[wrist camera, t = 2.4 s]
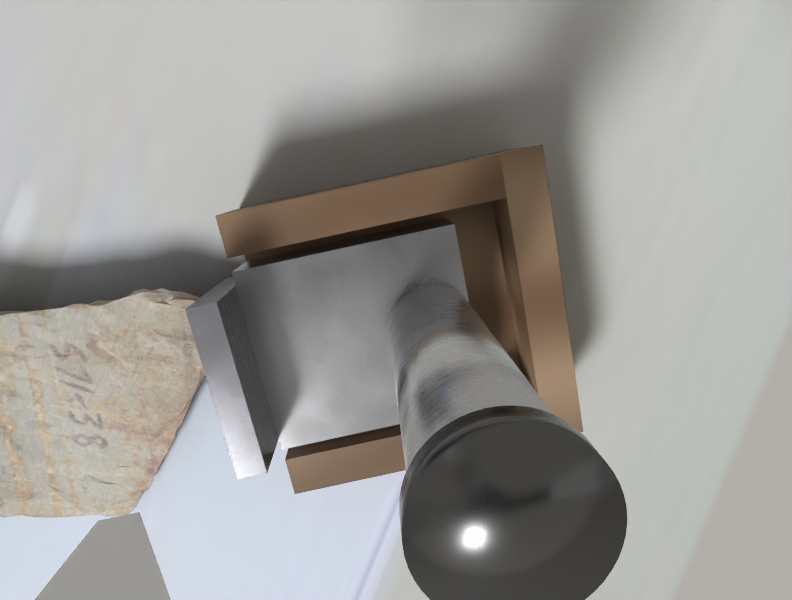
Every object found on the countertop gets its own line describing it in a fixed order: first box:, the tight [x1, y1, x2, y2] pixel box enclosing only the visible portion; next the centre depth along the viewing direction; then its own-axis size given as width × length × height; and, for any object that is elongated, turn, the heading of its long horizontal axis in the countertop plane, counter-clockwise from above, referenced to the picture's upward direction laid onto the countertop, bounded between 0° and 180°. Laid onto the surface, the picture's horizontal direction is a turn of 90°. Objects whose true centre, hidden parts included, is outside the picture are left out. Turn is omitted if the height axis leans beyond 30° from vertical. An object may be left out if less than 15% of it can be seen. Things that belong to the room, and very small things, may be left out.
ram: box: [185, 218, 627, 600], centre depth 16 cm, size 7×9×14 cm
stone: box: [0, 288, 205, 517], centre depth 23 cm, size 15×11×3 cm
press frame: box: [216, 145, 583, 494], centre depth 22 cm, size 11×12×4 cm
